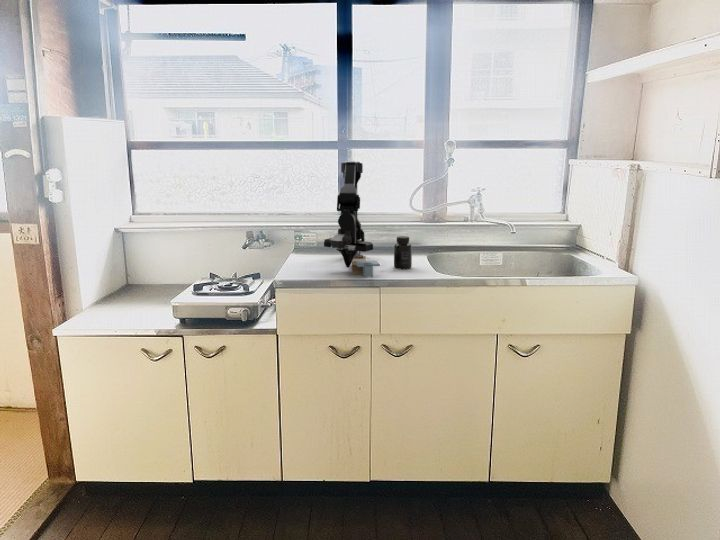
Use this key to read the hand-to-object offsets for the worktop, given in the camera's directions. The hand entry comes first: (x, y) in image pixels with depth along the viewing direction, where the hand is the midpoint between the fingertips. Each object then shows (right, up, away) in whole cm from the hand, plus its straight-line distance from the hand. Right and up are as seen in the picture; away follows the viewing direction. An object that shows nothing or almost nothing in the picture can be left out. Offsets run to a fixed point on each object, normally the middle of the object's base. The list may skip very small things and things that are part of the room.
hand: (348, 267), depth 197 cm
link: (+4, -1, +4) cm, 6 cm away
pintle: (+3, +1, +10) cm, 11 cm away
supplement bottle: (+21, 0, +6) cm, 22 cm away
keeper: (+7, -3, -5) cm, 9 cm away
